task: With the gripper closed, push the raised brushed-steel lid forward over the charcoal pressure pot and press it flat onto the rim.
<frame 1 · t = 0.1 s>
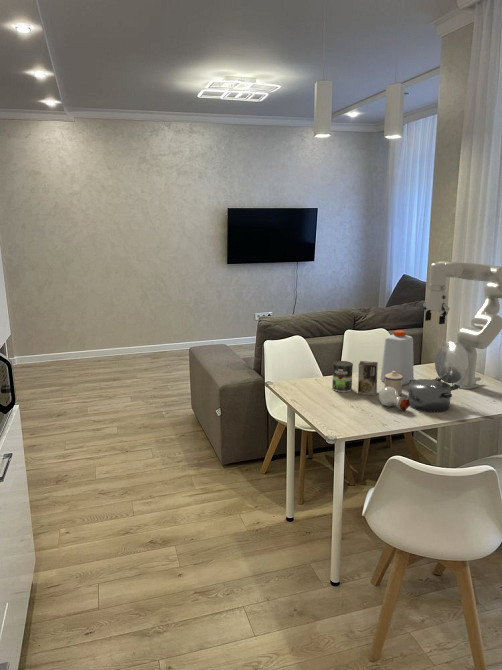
hand: (434, 322, 263), 37 cm above the table, tool pointing down, fingers open, 9 cm apart
plastic bottle: (396, 381, 290), on the table
lid: (452, 362, 253), point 20 cm above the table, hinge at 100.0°
teacup with lid: (391, 392, 272), on the table
potion bottle: (393, 407, 250), on the table
pot: (428, 405, 253), on the table
coffee can: (342, 389, 277), on the table
coffee box: (367, 393, 270), on the table
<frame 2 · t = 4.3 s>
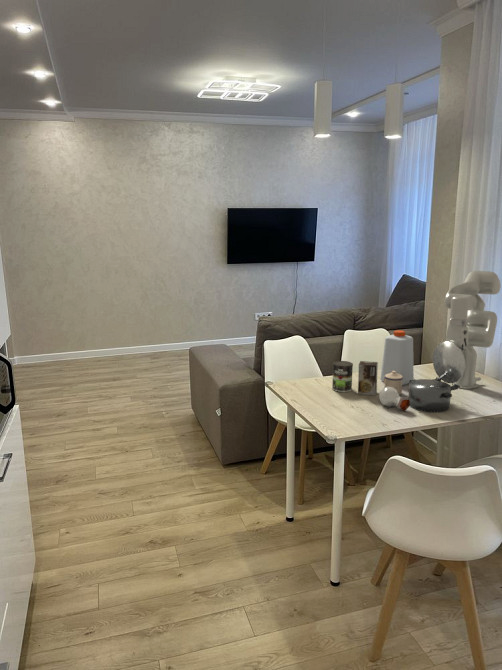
hand: (454, 359, 253), 21 cm above the table, tool pointing down, fingers closed
lid: (449, 362, 253), point 20 cm above the table, hinge at 89.7°, touching gripper
everything else where it was.
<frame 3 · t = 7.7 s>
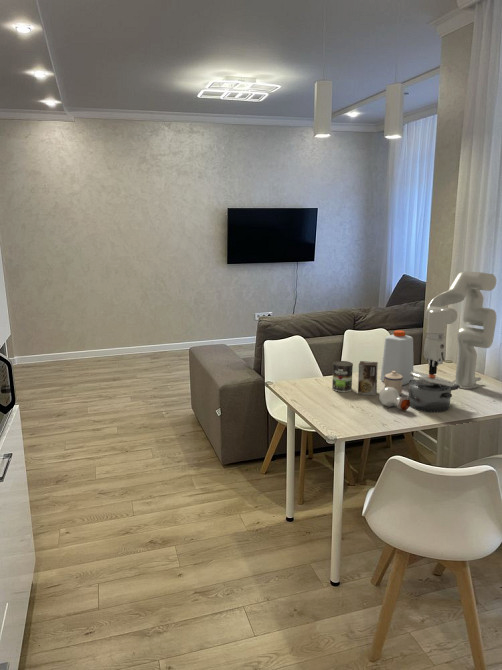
hand: (432, 373, 250), 16 cm above the table, tool pointing down, fingers closed
lid: (431, 377, 250), point 14 cm above the table, hinge at 15.1°, touching gripper
everything else where it was.
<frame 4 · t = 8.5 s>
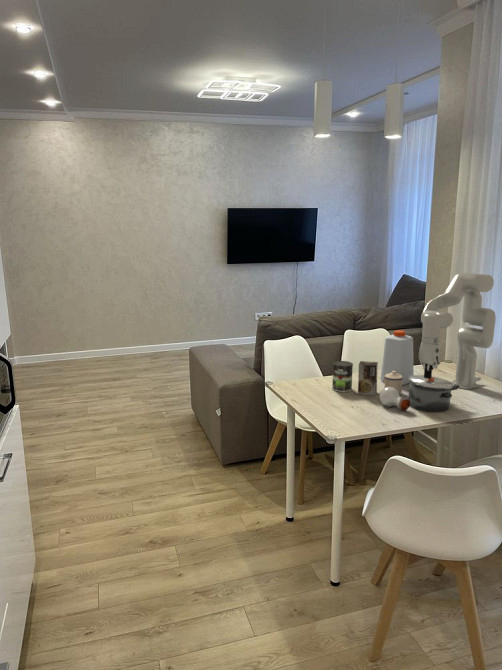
hand: (427, 377, 249), 14 cm above the table, tool pointing down, fingers closed
lid: (430, 380, 250), point 12 cm above the table, hinge at 6.3°, touching gripper
everything else where it was.
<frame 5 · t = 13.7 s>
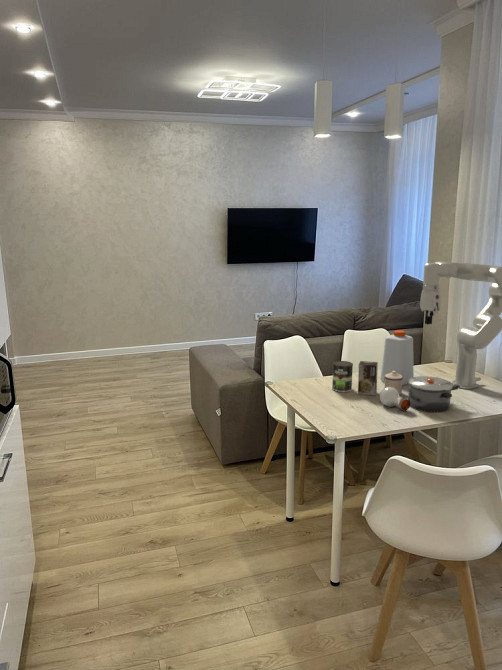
hand: (428, 323, 267), 35 cm above the table, tool pointing down, fingers closed
lid: (430, 382, 250), point 12 cm above the table, hinge at 1.5°
everything else where it was.
at the end: lid at +2° (first picture: +100°); the gripper is holding nothing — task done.
